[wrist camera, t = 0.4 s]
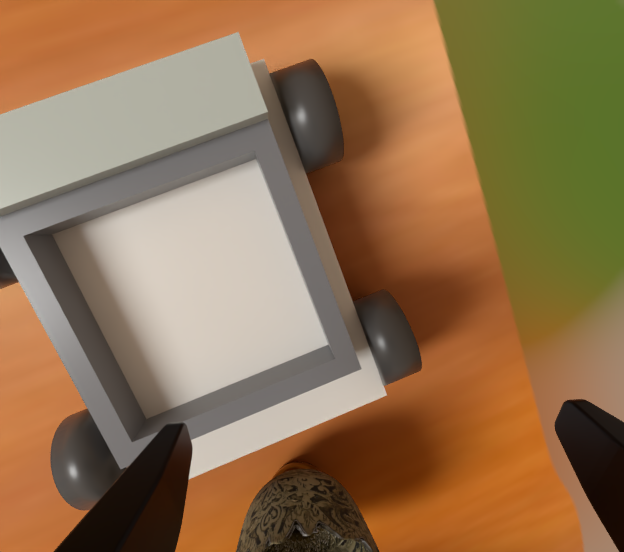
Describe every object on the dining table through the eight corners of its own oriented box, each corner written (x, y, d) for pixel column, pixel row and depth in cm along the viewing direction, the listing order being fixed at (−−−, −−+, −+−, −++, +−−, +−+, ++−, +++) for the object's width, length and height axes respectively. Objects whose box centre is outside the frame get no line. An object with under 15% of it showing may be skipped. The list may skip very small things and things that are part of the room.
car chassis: (400, 361, 23) (446, 408, 17) (128, 474, 22) (76, 567, 16) (298, 71, 20) (312, 6, 14) (-27, 187, 19) (-164, 171, 13)
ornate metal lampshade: (217, 462, 22) (190, 591, 15) (324, 408, 23) (353, 506, 15) (270, 552, 24) (271, 715, 16) (370, 500, 24) (419, 634, 16)
